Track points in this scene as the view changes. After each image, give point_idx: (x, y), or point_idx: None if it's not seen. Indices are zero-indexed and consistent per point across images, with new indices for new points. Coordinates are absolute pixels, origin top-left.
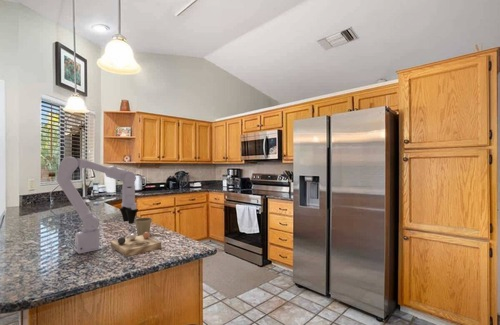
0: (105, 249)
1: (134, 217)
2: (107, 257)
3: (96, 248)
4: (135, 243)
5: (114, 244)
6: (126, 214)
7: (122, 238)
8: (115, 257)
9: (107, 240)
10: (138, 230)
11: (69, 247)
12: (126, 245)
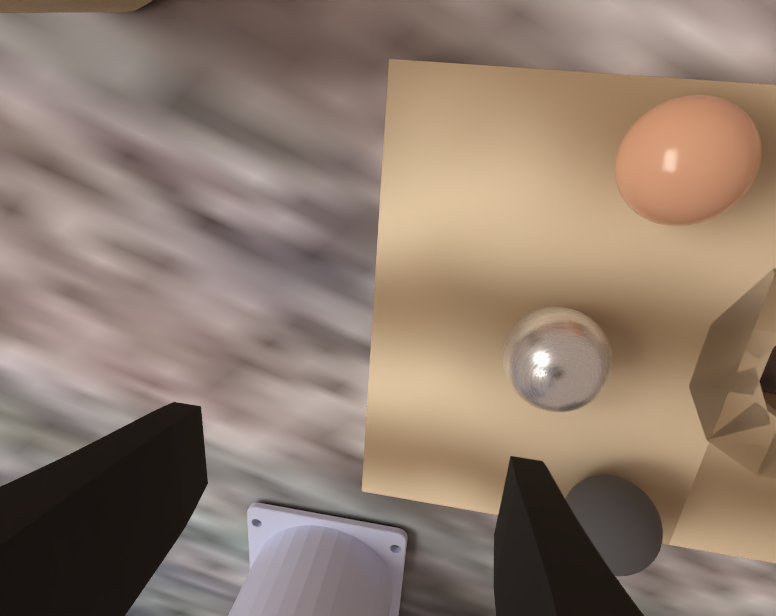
0: (436, 515)
1: (613, 591)
2: (692, 606)
3: (386, 569)
4: (751, 394)
5: (499, 507)
6: (74, 586)
7: (651, 556)
8: (768, 580)
9: (122, 373)
10: (87, 5)
11: (151, 609)
12: (713, 490)
